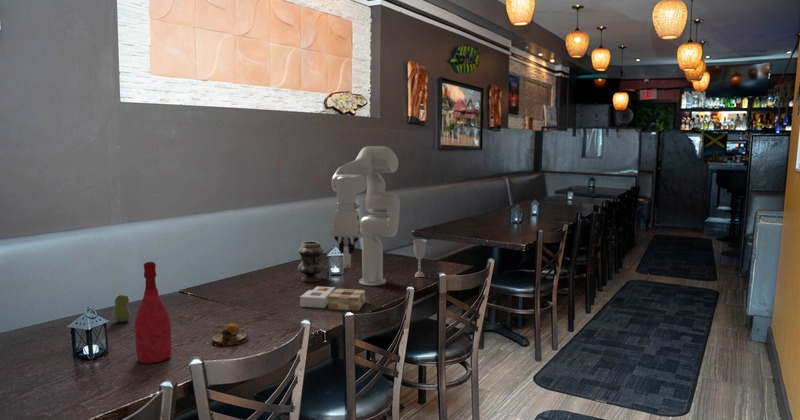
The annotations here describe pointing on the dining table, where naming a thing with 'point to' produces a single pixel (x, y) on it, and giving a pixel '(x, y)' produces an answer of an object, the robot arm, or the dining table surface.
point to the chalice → (419, 253)
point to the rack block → (346, 299)
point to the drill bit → (346, 252)
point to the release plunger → (323, 289)
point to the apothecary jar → (310, 260)
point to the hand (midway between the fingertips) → (346, 252)
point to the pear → (121, 309)
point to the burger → (230, 336)
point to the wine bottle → (152, 323)
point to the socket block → (316, 297)
